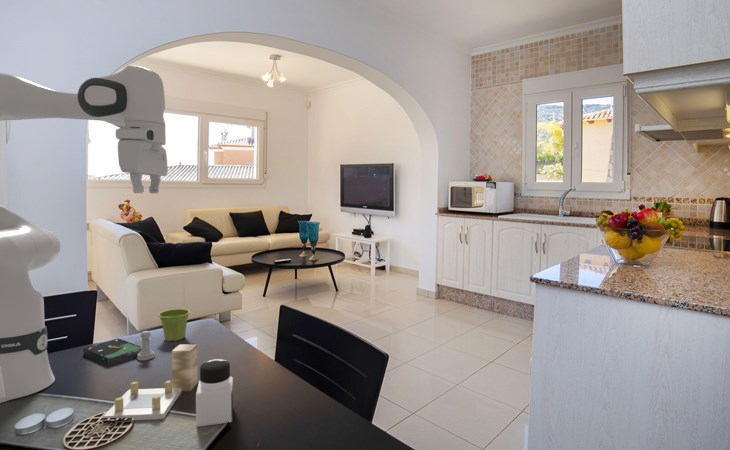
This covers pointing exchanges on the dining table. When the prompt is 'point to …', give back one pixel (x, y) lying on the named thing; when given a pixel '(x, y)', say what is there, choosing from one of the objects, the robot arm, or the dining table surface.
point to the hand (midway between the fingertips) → (146, 193)
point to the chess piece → (145, 347)
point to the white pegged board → (144, 402)
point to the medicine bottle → (214, 394)
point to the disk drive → (112, 351)
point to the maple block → (184, 367)
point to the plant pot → (174, 323)
